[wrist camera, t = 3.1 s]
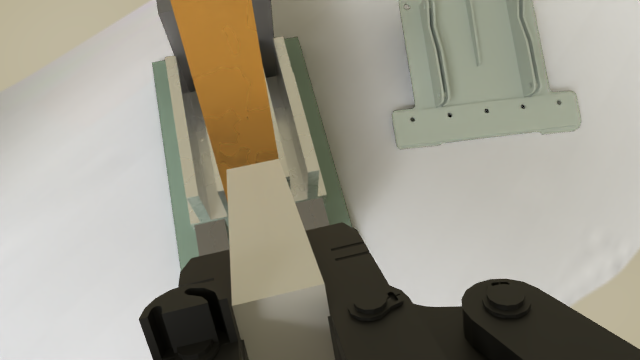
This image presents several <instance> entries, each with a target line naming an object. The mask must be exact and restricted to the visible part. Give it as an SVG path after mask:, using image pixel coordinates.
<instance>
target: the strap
mask: <svg viewBox="0 0 640 360" xmlns="http://www.w3.org/2000/svg"><path fill="white" fill-rule="evenodd" d="M170 1H171V5H172V8H173V12H174V15H175V19H176V22H177V26H178V29H179V33H180V36H181V40H182V43H183V47H184V51H185V54H186V58H187V61H188V65H189V68H190V72H191V75H192V79H193V82H194V86H195V89H196V93H197V96H198V100H199V104H200V107H201V111H202V114H203V118H204V121H205V125H206V128H207V132H208V135H209V139H210V142H211V146H212V149H213V153H214V156H215V160H216V164H217V167H218V171H219V174H220V178H221V181H222V185H223V188H224V192H225V195H226V199H227V202H228V196H227V172H226V170H227V169H232V168H237V167H242V166H246V165H251V164H256V163H261V162H266V161H271V160H275V159H279V158H278V152H277V146H276V140H275V134H274V129H273V123H272V117H271V111H270V105H269V99H268V93H267V88H266V82H265V76H264V70H263V64H262V58H261V53H260V47H259V41H258V35H257V29H256V23H255V17H254V12H253V6H252V0H170Z"/></svg>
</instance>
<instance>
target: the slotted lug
mask: <svg viewBox="0 0 640 360" xmlns="http://www.w3.org/2000/svg"><path fill="white" fill-rule="evenodd" d="M156 1H157V8H158V13H159V16H160V19H161V21H162V24H163V27H164V29H165V32H166V34H167V37H168V40H169V42H170V45H171V48H172V50H173V53H174V55H176V58H177V60H178V63H179V66H180V68H181V71H182V74H183V76H184V79H185V82H186V84H187V87H188V89H189V92H194V91H196V89H195V86H194V82H193V79H192V75H191V72H190V68H189V65H188V61H187V58H186V54H185V51H184V47H183V43H182V40H181V36H180V33H179V29H178V26H177V22H176V19H175V15H174V12H173V8H172V5H171V1H170V0H156ZM252 6H253V12H254V17H255V23H256V29H257V35H258V41H259V47H260V53H261V58H262V64H263V69H264V73H265V77H266V78H268V77H274V76H276V70H275V58H274V47H273V38H274V33H273V22H272V10H271V0H252Z"/></svg>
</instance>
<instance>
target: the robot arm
mask: <svg viewBox="0 0 640 360" xmlns="http://www.w3.org/2000/svg"><path fill="white" fill-rule="evenodd" d="M226 172H227V196H228V221H229V245H230V249H229V250H225V251H220V252H216V253H211V254H207V255H203V256H198V257H194V258H191V259H190V260H189V262H188V263H187V264H186V266H185V267H184V268H183V269H182V271H181V272H180V279H179V287H178V288H175V289H172V290H170V291H168V292H166V293H164V294H163V295H161V296H159V297H157V298H156V299H155V300H153V301H152V302H151V303H150V304H149V305H148V306H147V307H146V308H145V309H144V311H143V313H142V314H141V316H140V318H139V321H140V324H141V327H142V329H143V332H144V335H145V338H146V341H147V344H148V346H149V349H150V352H151V355H152V358H153V360H640V349H638V348H636V347H635V346H633V345H631V344H630V343H628V342H627V341H625V340H623V339H621V338H620V337H618V336H617V335H615V334H613V333H612V332H610V331H608V330H607V329H605V328H603V327H602V326H600V325H598V324H597V323H595V322H593V321H592V320H590V319H588V318H586V317H585V316H583V315H582V314H580V313H578V312H577V311H575V310H573V309H572V308H570V307H568V306H567V305H565V304H563V303H562V302H560V301H558V300H557V299H555V298H553V297H552V296H550V295H548V294H547V293H545V292H543V291H542V290H540V289H538V288H536V287H534V286H532V285H529V284H527V283H525V282H521V281H516V280H510V279H490V280H487V281H483V282H479V283H476V284H475V285H473V286H472V287H470V288H469V289H467V290H466V292H465V294H464V296H463V298H462V307H425V306H421V305H416V304H413V303H412V302H411V300H410V298H409V297H408V296H407V295H406V294H405V293H404V292H403V291H401V290H399V289H397V288H394V287H392V286H389V284H388V282H387V281H386V279H385V277H384V276H383V274H382V272H381V270H380V269H379V267H378V265H377V264H376V262H375V260H374V258H373V257H372V255H371V253H369V250H368V248H367V247H366V245H365V244H364V242H363V240H362V238H361V236H360V235H359V233H358V231H357V230H356V229H354V228H352V227H350V226H349V225H347V224H345V223H343V222H341V223H337V224H332V225H328V226H324V227H319V228H315V229H310V230H306V231H305V229H304V226H303V223H302V221H301V218H300V215H299V212H298V210H297V207H296V204H295V201H294V199H293V196H292V193H291V191H290V188H289V185H288V182H287V180H286V177H285V174H284V171H283V169H282V166H281V163H280V160H279V159H275V160H271V161H266V162H261V163H256V164H251V165H246V166H242V167H237V168H232V169H227V170H226Z"/></svg>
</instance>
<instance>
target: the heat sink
mask: <svg viewBox="0 0 640 360" xmlns="http://www.w3.org/2000/svg"><path fill="white" fill-rule="evenodd" d="M273 47H274V58H275V70H276V76H274V77H268V78H266V77H265V82H266V88H267V93H268V99H269V105H270V111H271V117H272V123H273V129H274V134H275V140H276V146H277V152H278V158H279V160H280V163H281V166H282V169H283V171H284V174H285V177H286V180H287V182H288V185H289V188H290V191H291V193H292V196H293V199H294V201H295V204H296V207H297V210H298V212H299V215H300V218H301V221H302V223H303V226H304V229H305V231H306V230H310V229H315V228H319V227H324V226H328V225H330V224H329V221H328V217H327V213H326V209H325V206H324V205H326V198H327V193H326V190H325V186H324V182H323V179H322V175H321V171H320V168H319V164H318V160H317V157H316V153H315V149H314V146H313V142H312V138H311V135H310V131H309V127H308V124H307V120H306V116H305V113H304V109H303V105H302V102H301V98H300V94H299V91H298V87H297V83H296V80H295V76H294V73H293V72H292V68H291V64H290V60H289V57H288V53H287V49H286V46H285V42H284V38H283V36H282V37H276V38H273ZM165 62H166V68H167V75H168V81H169V88H170V95H171V101H172V108H173V115H174V121H175V128H176V134H177V141H178V148H179V154H180V161H181V167H182V174H183V181H184V187H185V194H186V199H187V204H188V210H189V217H190V224H191V226H192V227H193V229H194V230H195V232H196V239H197V245H198V252H199V256H203V255H207V254H211V253H216V252H220V251H225V250H229V249H230V245H229V228H228V227H229V221H228V202H227V199H226V195H225V192H224V188H223V185H222V181H221V178H220V174H219V171H218V167H217V164H216V160H215V156H214V153H213V149H212V146H211V142H210V139H209V135H208V132H207V128H206V125H205V121H204V118H203V114H202V111H201V107H200V104H199V100H198V96H197V93H196V91H194V92H189V89H188V87H187V84H186V82H185V79H184V76H183V74H182V71H181V68H180V66H179V63H178V60H177V58H176V55H175V56H169V57H165ZM263 70H264V69H263ZM264 76H265V73H264Z"/></svg>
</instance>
